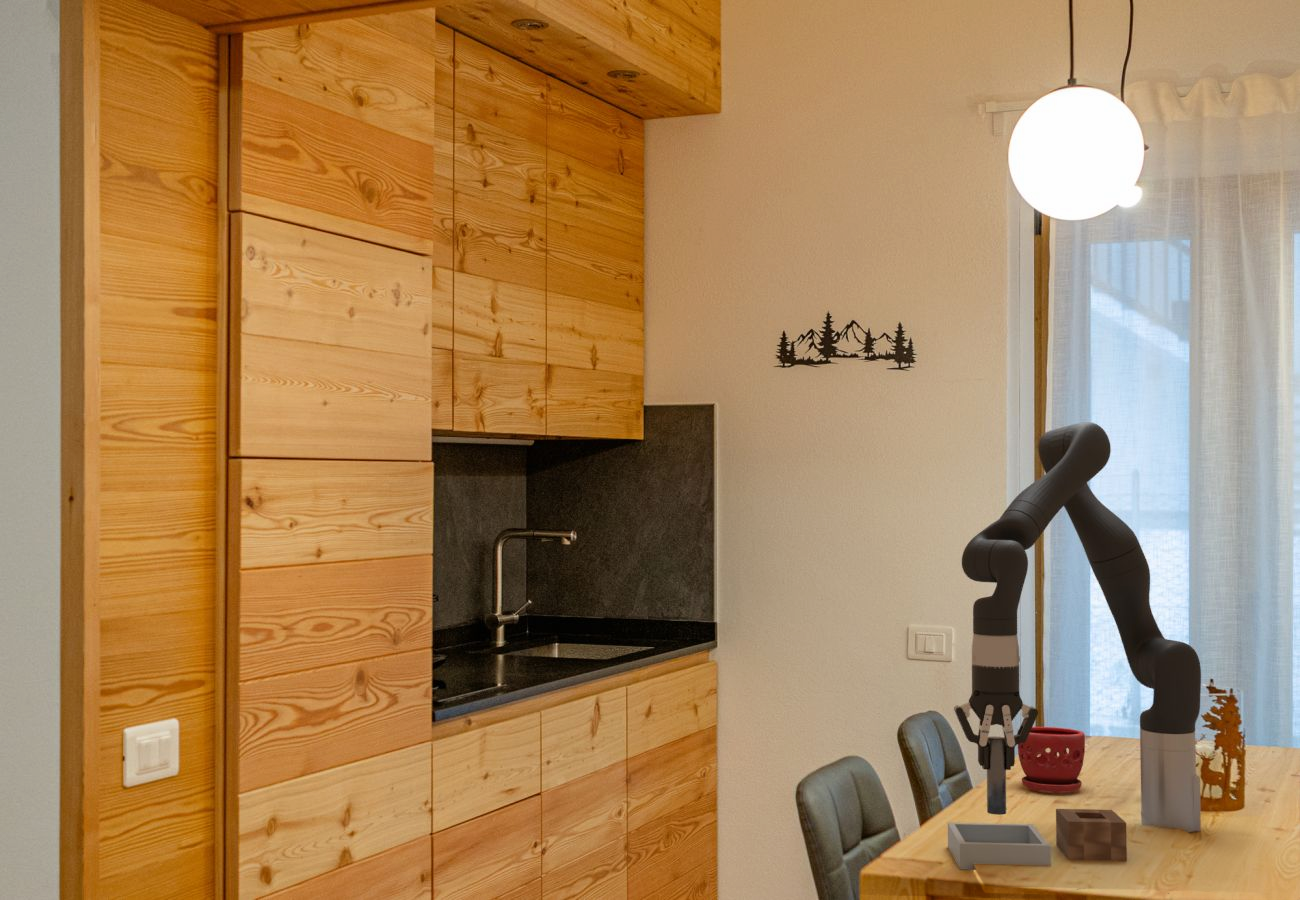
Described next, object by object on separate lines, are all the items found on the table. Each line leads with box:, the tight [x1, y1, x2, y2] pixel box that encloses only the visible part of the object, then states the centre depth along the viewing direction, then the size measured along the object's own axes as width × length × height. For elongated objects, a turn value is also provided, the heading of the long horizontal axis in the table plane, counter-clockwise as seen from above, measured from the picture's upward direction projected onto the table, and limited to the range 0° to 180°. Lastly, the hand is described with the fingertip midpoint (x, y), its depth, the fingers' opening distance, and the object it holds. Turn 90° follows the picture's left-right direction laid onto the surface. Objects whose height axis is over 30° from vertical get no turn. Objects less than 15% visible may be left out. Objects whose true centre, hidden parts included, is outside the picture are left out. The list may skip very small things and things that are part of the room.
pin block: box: [1055, 808, 1128, 862], centre depth 215 cm, size 9×9×7 cm
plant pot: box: [1017, 726, 1086, 795], centre depth 269 cm, size 13×13×12 cm
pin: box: [986, 735, 1007, 816], centre depth 216 cm, size 3×3×12 cm
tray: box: [947, 822, 1052, 871], centre depth 215 cm, size 14×14×4 cm
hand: (996, 768), depth 216 cm, fingers closed on pin, 3 cm apart
